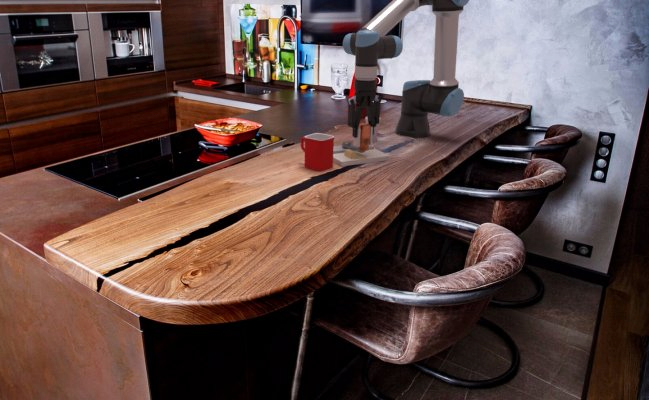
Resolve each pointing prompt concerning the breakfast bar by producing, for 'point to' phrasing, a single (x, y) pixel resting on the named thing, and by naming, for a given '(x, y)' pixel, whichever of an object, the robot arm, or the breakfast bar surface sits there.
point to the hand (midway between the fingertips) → (362, 144)
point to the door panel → (359, 157)
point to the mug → (318, 151)
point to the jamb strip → (341, 150)
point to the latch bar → (363, 139)
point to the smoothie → (374, 130)
